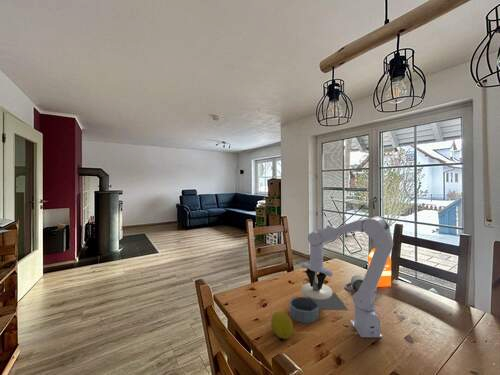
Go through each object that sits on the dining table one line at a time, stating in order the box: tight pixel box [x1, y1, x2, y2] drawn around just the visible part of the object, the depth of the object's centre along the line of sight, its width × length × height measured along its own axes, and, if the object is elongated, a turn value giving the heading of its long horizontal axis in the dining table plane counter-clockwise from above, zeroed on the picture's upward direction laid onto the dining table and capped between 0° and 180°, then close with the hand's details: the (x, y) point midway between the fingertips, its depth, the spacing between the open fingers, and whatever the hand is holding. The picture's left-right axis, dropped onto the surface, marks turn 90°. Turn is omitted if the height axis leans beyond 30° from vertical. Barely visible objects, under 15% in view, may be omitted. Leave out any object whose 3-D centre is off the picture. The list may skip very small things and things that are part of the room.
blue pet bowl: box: [288, 296, 320, 324], centre depth 95 cm, size 12×12×5 cm
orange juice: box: [367, 248, 392, 288], centre depth 125 cm, size 8×9×20 cm
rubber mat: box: [307, 292, 349, 311], centre depth 106 cm, size 15×15×1 cm
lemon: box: [270, 310, 294, 340], centre depth 83 cm, size 11×8×8 cm
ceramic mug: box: [344, 275, 364, 294], centre depth 117 cm, size 11×8×8 cm
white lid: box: [300, 279, 333, 300], centre depth 101 cm, size 14×14×4 cm
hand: (316, 287), depth 101 cm, fingers closed on white lid, 3 cm apart
